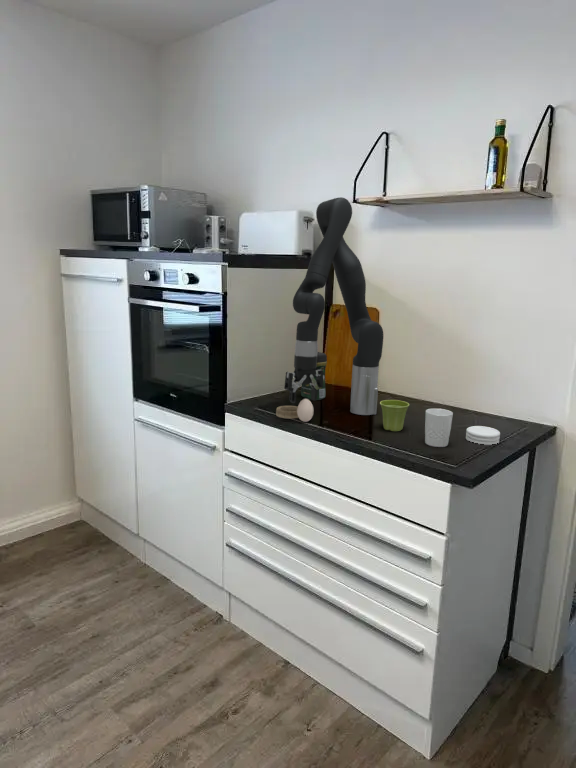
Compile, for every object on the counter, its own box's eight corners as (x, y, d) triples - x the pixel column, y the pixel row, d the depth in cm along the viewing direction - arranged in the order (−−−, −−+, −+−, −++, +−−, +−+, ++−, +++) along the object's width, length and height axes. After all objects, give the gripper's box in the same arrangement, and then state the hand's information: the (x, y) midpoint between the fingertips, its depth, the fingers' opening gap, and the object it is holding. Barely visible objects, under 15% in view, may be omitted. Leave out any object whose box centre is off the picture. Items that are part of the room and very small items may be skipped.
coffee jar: (297, 396, 224) (298, 350, 220) (311, 393, 229) (313, 348, 225) (314, 401, 217) (315, 354, 213) (328, 398, 222) (330, 352, 218)
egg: (316, 421, 190) (317, 399, 189) (305, 424, 187) (306, 401, 185) (304, 418, 194) (305, 396, 192) (293, 421, 190) (294, 398, 188)
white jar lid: (476, 434, 183) (477, 423, 182) (505, 441, 176) (506, 431, 175) (459, 439, 176) (460, 429, 176) (488, 448, 169) (489, 437, 168)
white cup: (418, 443, 171) (420, 411, 169) (432, 437, 177) (434, 407, 175) (441, 449, 166) (444, 416, 164) (454, 444, 171) (457, 412, 169)
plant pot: (385, 434, 179) (387, 407, 177) (373, 425, 188) (375, 400, 186) (412, 432, 182) (414, 406, 180) (399, 424, 191) (401, 399, 189)
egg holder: (302, 412, 202) (302, 406, 201) (300, 419, 193) (301, 413, 192) (277, 411, 202) (278, 405, 202) (275, 417, 194) (275, 411, 193)
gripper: (316, 350, 193) (313, 397, 196) (281, 353, 185) (279, 401, 188) (330, 354, 187) (326, 402, 190) (294, 356, 179) (292, 406, 182)
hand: (303, 401), depth 189 cm, fingers open, 8 cm apart
